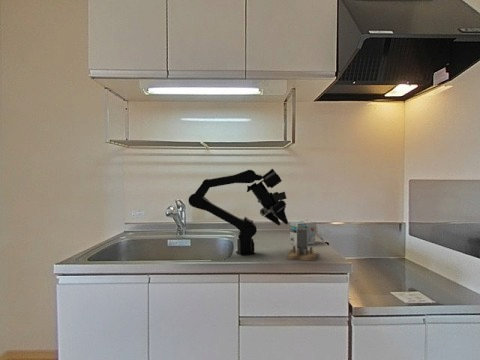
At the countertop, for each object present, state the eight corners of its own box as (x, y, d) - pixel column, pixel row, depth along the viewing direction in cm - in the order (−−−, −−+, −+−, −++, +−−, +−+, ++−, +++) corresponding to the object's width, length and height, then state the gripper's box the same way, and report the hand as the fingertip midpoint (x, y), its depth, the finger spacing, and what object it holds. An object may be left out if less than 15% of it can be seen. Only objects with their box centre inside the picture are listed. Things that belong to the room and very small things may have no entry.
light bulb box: (297, 246, 174) (297, 223, 173) (289, 243, 180) (289, 221, 180) (315, 243, 178) (315, 221, 178) (307, 241, 184) (307, 220, 184)
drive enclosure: (297, 253, 151) (296, 229, 150) (298, 251, 155) (298, 227, 155) (307, 254, 150) (306, 229, 149) (308, 251, 154) (307, 227, 154)
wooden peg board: (287, 259, 148) (287, 249, 148) (291, 252, 160) (291, 243, 160) (315, 260, 145) (315, 250, 145) (317, 253, 157) (317, 244, 157)
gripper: (284, 180, 152) (306, 211, 152) (269, 187, 169) (289, 215, 170) (263, 196, 148) (286, 227, 148) (251, 201, 166) (271, 229, 166)
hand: (283, 224), depth 158 cm, fingers open, 9 cm apart
